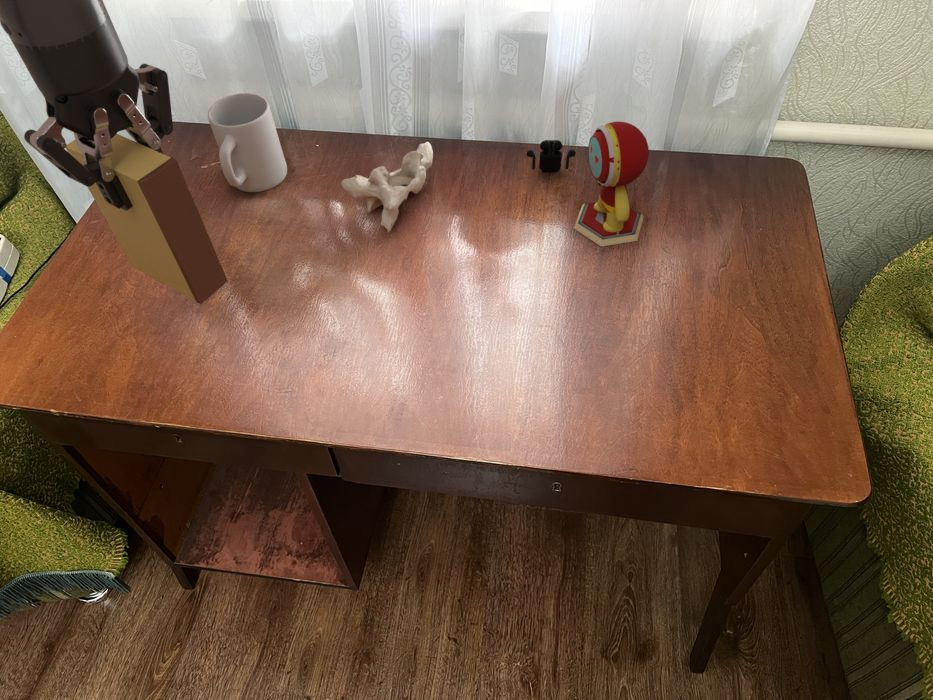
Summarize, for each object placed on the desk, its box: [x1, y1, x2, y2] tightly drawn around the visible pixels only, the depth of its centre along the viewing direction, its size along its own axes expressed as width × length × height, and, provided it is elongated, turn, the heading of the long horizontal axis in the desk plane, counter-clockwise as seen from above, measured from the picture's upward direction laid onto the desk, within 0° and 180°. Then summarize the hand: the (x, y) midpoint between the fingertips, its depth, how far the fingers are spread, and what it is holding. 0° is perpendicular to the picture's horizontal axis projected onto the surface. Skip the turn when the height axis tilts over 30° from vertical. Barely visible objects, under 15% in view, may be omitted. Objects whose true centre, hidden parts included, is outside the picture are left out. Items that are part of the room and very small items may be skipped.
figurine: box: [573, 120, 650, 247], centre depth 89 cm, size 9×10×15 cm
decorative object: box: [340, 141, 434, 234], centre depth 96 cm, size 9×14×8 cm, turn 140°
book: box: [65, 133, 229, 305], centre depth 71 cm, size 16×4×11 cm
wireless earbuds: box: [526, 139, 577, 172], centre depth 101 cm, size 7×2×5 cm, turn 88°
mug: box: [207, 92, 288, 193], centre depth 99 cm, size 12×8×11 cm
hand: (142, 192), depth 68 cm, fingers closed on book, 4 cm apart
